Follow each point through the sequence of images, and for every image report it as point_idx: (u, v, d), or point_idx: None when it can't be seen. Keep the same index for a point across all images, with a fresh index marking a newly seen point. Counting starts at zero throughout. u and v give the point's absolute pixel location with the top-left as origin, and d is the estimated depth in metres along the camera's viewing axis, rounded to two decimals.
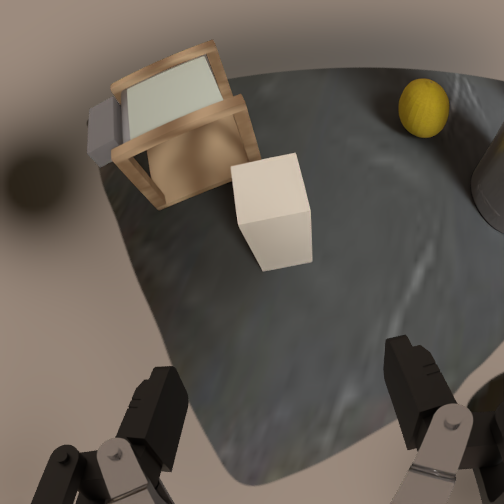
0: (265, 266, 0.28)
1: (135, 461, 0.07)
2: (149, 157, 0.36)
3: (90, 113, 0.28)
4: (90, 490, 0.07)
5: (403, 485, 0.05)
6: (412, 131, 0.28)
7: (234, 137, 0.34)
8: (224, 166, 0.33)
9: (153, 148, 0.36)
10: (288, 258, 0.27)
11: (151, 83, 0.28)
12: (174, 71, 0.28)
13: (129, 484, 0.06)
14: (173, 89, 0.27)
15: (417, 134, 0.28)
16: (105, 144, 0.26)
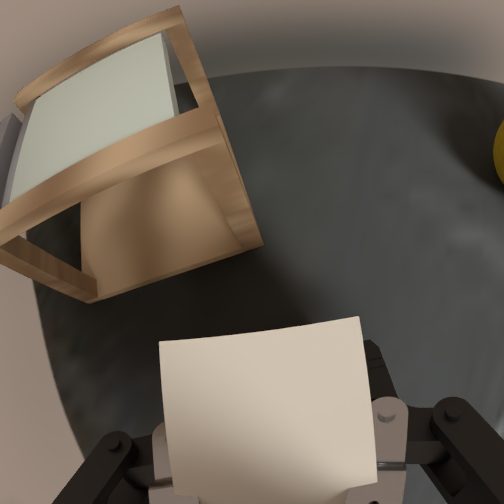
0: None
1: None
2: (82, 206, 0.21)
3: None
4: (135, 480, 0.07)
5: None
6: None
7: None
8: (193, 237, 0.19)
9: None
10: None
11: (67, 87, 0.14)
12: (106, 63, 0.14)
13: None
14: (92, 96, 0.13)
15: None
16: None
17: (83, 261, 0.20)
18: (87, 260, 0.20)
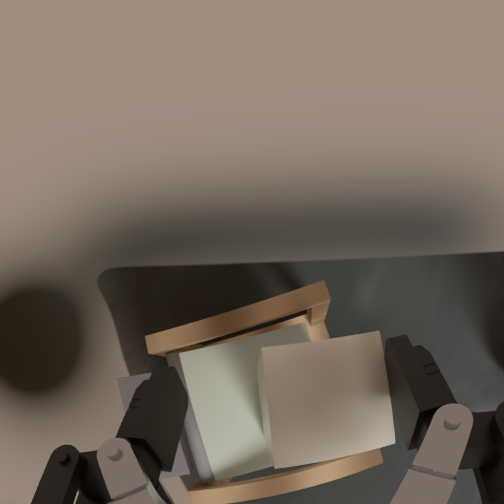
0: None
1: (135, 461, 0.07)
2: None
3: (122, 392, 0.18)
4: (90, 490, 0.07)
5: (403, 485, 0.05)
6: None
7: None
8: None
9: None
10: None
11: (224, 360, 0.20)
12: (262, 346, 0.21)
13: (129, 484, 0.06)
14: None
15: None
16: None
17: None
18: None
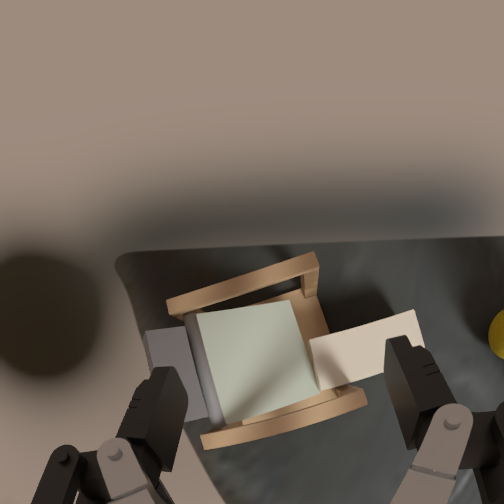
0: (335, 386, 0.25)
1: (135, 461, 0.07)
2: None
3: (150, 343, 0.21)
4: (90, 490, 0.07)
5: (403, 485, 0.05)
6: None
7: None
8: None
9: None
10: None
11: (232, 322, 0.26)
12: (259, 314, 0.27)
13: (129, 484, 0.06)
14: (263, 349, 0.26)
15: None
16: (194, 419, 0.20)
17: None
18: None
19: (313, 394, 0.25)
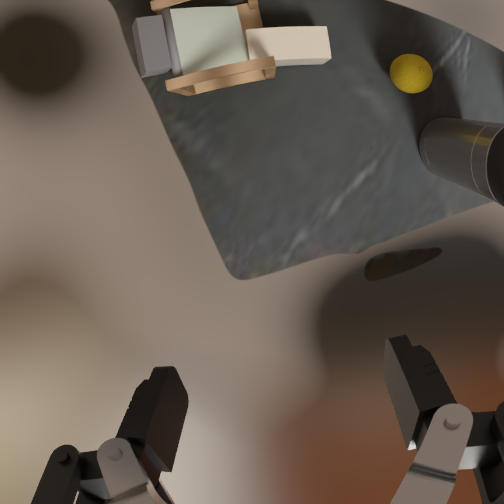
0: None
1: (135, 461, 0.07)
2: None
3: (138, 25, 0.26)
4: (90, 490, 0.07)
5: (403, 485, 0.05)
6: None
7: None
8: None
9: None
10: None
11: (193, 15, 0.29)
12: (213, 12, 0.30)
13: (129, 484, 0.06)
14: (213, 32, 0.31)
15: (397, 87, 0.36)
16: (163, 68, 0.29)
17: None
18: None
19: None
